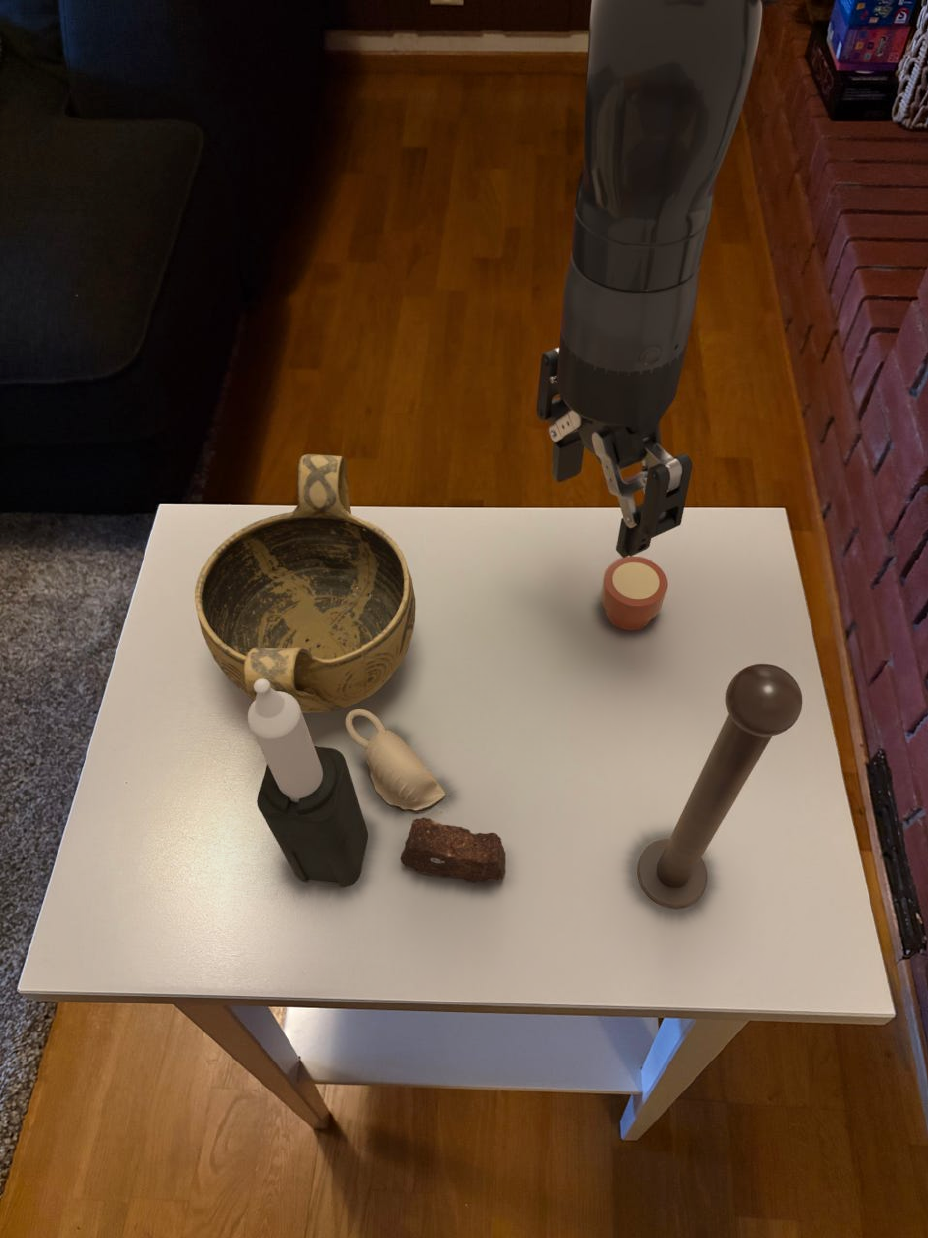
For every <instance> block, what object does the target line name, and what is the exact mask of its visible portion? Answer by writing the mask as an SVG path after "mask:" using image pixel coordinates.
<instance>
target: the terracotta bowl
mask: <svg viewBox="0 0 928 1238" xmlns="http://www.w3.org/2000/svg"><path fill="white" fill-rule="evenodd" d="M602 580H603V581H602V587H601V592H600V599H601V603H602V606H603V607H604V611H605V615H606V618H607V619H608V621H609V622H610V623H611V624H613V625H614V627H617V628H619V629H621V630H625V631H638V630H640V629H642V628H645V627H646V626H648V625H649V623H650V622H651V620H652V619H653V618H655V617H656V616H657V615H658V614H659V613H660V612H661V610H662V607H663V605H664V601H665V597H666V595H667V590H668V578H667V576H666V573H665V571H664V570H663V568H661V567H660V566H659V565H658V564H657V563H655V562H654V561H652V560H650V559H648V558H645V557H641V556H631V557H630V556H627V557H625V558H622V557H620V558H619V559H616V560H615V561H613V562H612V563H610V564H609V566H608V567H607V568H606V569H605V572H604V576H603V579H602Z"/></svg>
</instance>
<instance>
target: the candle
mask: <svg viewBox="0 0 928 1238" xmlns="http://www.w3.org/2000/svg"><path fill="white" fill-rule="evenodd" d="M254 689H255V691H256V692H257V696H256V700H254V701H253V702H252V704H251V705H250V707H249V708H248V713H247V724H248V726H249V728H250V731H251V732H252V735H253V736H254V739H255V741H256V743H257V745H258V747H259V749H260V751H261V754H262V755H263V758H264V759H265V762H266V768H265V771H264V774H263V777H262V780H261V784H260V788H259V790H258V793H257V799H256V804H257V807H258V810H259V811H260V813H261V815H262V817H263V819H264V821H265V822H266V824H267V826H268V828H269V830H270V832H271V834H272V835H273V837H274V839H275V841H276V842H277V844H278V846H279V848H280V850H281V852H282V854H283V855H284V857H285V859H286V861H287V862H288V864H289V867H290V868H291V870H292V873H294V875H295V877H296V878H297V879H298V880H300V881H301V882H304V883H308V882H309V881H315V882H321V883H322V882H323V883H329V884H330V883H331V884H337V885H338V886H339V887H342V888H345V887H350V886H352V885H353V884H355V883H356V882H357V881H358V879H359V878H360V876H361V872H362V867H363V862H364V859H365V852H366V850H367V849H366V848H367V844H368V838H369V832H368V829H367V825H366V822H365V818H364V815H363V811H362V808H361V806H360V802H359V798H358V796H357V793H356V788H355V786H354V782H353V780H352V779H353V778H352V776H351V772H350V769H349V766H348V762H347V760H346V758H345V755H344V754H343V752H341V750H339V749H336V748H332V747H326V746H318V745H315V744H314V742H313V738H312V736H311V734H310V731H309V728H308V726H307V723H306V720H305V717H304V715H303V712H302V711H301V709H300V706H299V704H298V702H297V701H296V700H295V699H294V698H293V697H292V696H291V695H289V694H288V693H285V692H281V691H275V690H273V689H272V688H271V687H270V683H269V681H268V680H266V679H264V678H261V679H258V680H257V681H256V682H255V684H254Z"/></svg>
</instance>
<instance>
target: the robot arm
mask: <svg viewBox="0 0 928 1238" xmlns="http://www.w3.org/2000/svg"><path fill="white" fill-rule="evenodd" d="M782 1H783V0H591V5H590V14H589V15H590V16H589V24H588V25H589V26H588V40H587V57H586V60H587V61H586V63H587V64H586V80H585V104H584V105H585V106H584V141H583V142H584V144H583V146H584V147H583V148H584V149H583V160H582V163H581V166H580V170H579V174H578V175H579V176H578V180H577V184H576V185H577V186H576V192H575V193H576V195H575V202H574V212H573V224H572V234H571V236H572V237H571V246H570V247H571V249H570V256H569V257H570V258H569V263H568V268H567V271H566V275H565V279H564V280H565V281H564V285H563V295H562V307H561V319H560V332H559V342H558V343H559V344H558V347H555V348H552V350H549V351H546V352H544V353H542V354H541V358H540V369H539V378H538V379H539V380H538V389H537V398H536V399H537V400H536V415H537V416H538V418H539V420H540V421H542V422H545V421H548V424H549V425H550V426H549V427H548V434H549V437H550V439H551V440H552V441H553V447H552V459H551V461H552V474H551V475H552V477H553V478H554V479H555V480H556V481H557V482H558V483H562V482H566V481H567V480H570V479H572V478H574V477H577V476H578V475H579V474H580V473H581V472H582V468H583V462H584V461H583V460H584V452H585V448H586V450H588V451H589V452H590V453H591V454H593V455H594V457H595V458H596V459H597V461H598V463H599V464H600V465H601V467H602V470H603V474H604V478H605V481H606V485H607V489H608V492H609V493H610V495H612V496H616V497H617V500H618V503H619V508H620V511H621V515H622V518H621V519H620V524H619V531H618V535H617V541H616V546H615V552H616V553H617V554H618V555H619V556H620V558H625V557H635V556H636V555H638V554H640V553H642V552H644V551H646V550H648V549H649V548H650V547H651V543H652V542H651V541H652V539H654V538H655V537H657V536H660V535H662V534H664V533H667V532H669V531H670V530H673V529H675V528H677V527H679V526H681V524H682V521H683V516H684V510H685V506H686V502H687V501H686V500H687V495H688V490H689V485H690V481H691V475H692V471H693V462H692V459H691V457H690V456H689V455H688V454H687V453H685V452H683V453H679V454H678V455H676V456H675V455H674V456H672V455H671V454H670V453H669V452H668V451H667V450H666V449H665V448H664V447H662V436H661V427H660V426H661V424H660V423H661V420H662V418H663V417H664V415H665V414H666V413H667V411H668V410H669V408H670V406H671V405H672V403H673V402H674V400H675V398H676V395H677V392H678V388H679V385H680V378H681V376H682V375H681V374H682V370H683V364H684V361H685V356H686V351H687V348H688V343H689V338H690V334H691V329H692V325H693V320H694V317H695V311H696V307H697V301H698V292H699V278H700V277H699V276H700V275H699V274H700V268H701V262H702V257H703V252H704V248H705V243H706V239H707V235H708V230H709V225H710V221H711V216H712V213H713V212H712V211H713V206H714V199H715V192H716V183H717V178H718V176H719V173H720V171H721V169H722V166H723V163H724V161H725V159H726V156H727V154H728V150H729V147H730V144H731V142H732V140H733V139H732V138H733V135H734V133H735V130H736V127H737V125H738V121H739V118H740V115H741V113H742V109H743V106H744V103H745V99H746V96H747V93H748V89H749V86H750V82H751V78H752V75H753V70H754V65H755V60H756V55H757V51H758V46H759V40H760V35H761V27H762V18H763V11H764V9H767V8H769V7H770V6H771V7H772V6H773V5H775V4H778V3H780V2H782ZM558 395H559V397H557V398H554V397H556V396H558ZM638 463H641V464H642V467H641V469H640V471H639V472H637V473H635V474H632V475H630V476H628V477H625V478H623V477H622V474H621V473H622V472H621V471H623V470H625V469H627V468H630V467H632V466H634V465H636V464H638ZM639 490H642V492H643V493H642V494H643V496H644V497H643V502H642V503H641V504H639V505H636V503H635V499H634V494H635V493H636V492H638V491H639Z"/></svg>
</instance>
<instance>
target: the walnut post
mask: <svg viewBox="0 0 928 1238" xmlns="http://www.w3.org/2000/svg"><path fill="white" fill-rule="evenodd" d="M725 707H726V711H727V713H728V715H727V716H726V718H725V721H724V723H723V725H722V728H721V729H720V731H719V733H718V735H717V737H716V739H715V742H714V744H713V746H712V748H711V750H710V752H709V754H708V756H707V759H706V761H705V764H704V765H703V767H702V769H701V772H700V773H699V776H698V778H697V780H696V781H695V784H694V786H693V788H692V790H691V793H690V795H689V797H688V799H687V801H686V803H685V805H684V807H683V808H682V812H681V814H680V816H679V818H678V820H677V822H676V824H675V827H674V828H673V831H672V832H671V835H670V837H669V838H665V839H660V840H657V841H655V842H652V843H651V844H649V845H648V846H647V847H645V849H644V850H643V852H642V854H641V855H640V857H639V860H638V864H637V877H638V882H639V884H640V886H641V888H642V890H643V891H644V893H645V895H647V896H648V897H649V898H650V900H652V901H654V902H655V903H657V904H658V905H659V906H663V907H665V908H670V909H682V908H687V907H689V906H691V905H693V904H695V903H696V902H697V901H698V900H699V899H700V898H701V897H702V895H703V894H704V892H705V890H706V888H707V884H708V870H707V866H706V863H705V862H704V860H703V856H704V854H705V852H706V851H707V850H708V849H707V848H708V847H709V846H710V844H711V842H712V840H713V838H714V837H715V836H716V833H717V832H718V830H719V829H720V827H721V825H722V824H723V821H724V820H725V818H726V817H727V815H728V813H729V811H730V809H731V808H732V806H733V805H734V803H735V801H736V799H737V797H738V796H739V794H740V792H741V791H742V790H743V788H744V785H745V784H746V783H747V780H748V779H749V777H750V775H751V774H752V772H753V770H754V769H755V767H756V765H757V764H758V762H759V760H760V758H761V757H762V755H763V753H764V751H765V750H766V748H767V747H768V745H769V743H770V741H771V740H772V738H773V737H775V736H778V735H781V734H783V733H785V732H786V731H788V730H789V729H791V728H792V727H794V725H795V724H796V722H797V721H798V719H799V717H800V715H801V713H802V708H803V694H802V689H801V687H800V686H799V683H798V682H797V680H796V679H795V677H793V675H792V674H790V673H789V672H788V671H787V670H785V669H784V668H782V667H780V666H778V665H774V664H770V663H755V664H751V665H749V666H746V667H744V668H743V669H741V670H739V671H738V672H737V673H735V674H734V676H733V677H732V679H730V681H729V683H728V685H727V688H726V692H725Z"/></svg>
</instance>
